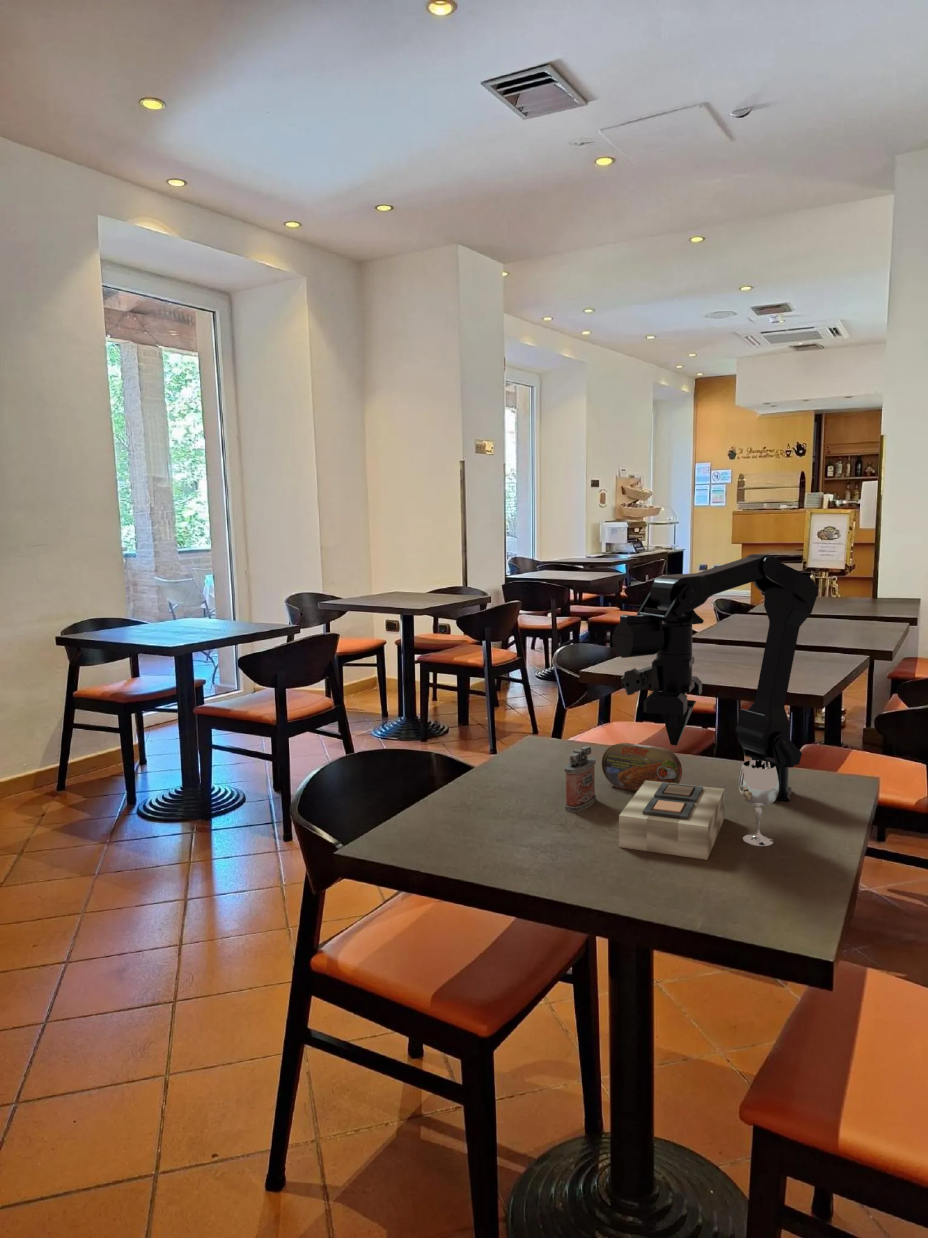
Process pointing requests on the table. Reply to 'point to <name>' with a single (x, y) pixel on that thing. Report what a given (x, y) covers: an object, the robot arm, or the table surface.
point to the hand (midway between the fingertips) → (674, 744)
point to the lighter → (580, 780)
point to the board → (672, 821)
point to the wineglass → (758, 793)
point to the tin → (640, 765)
